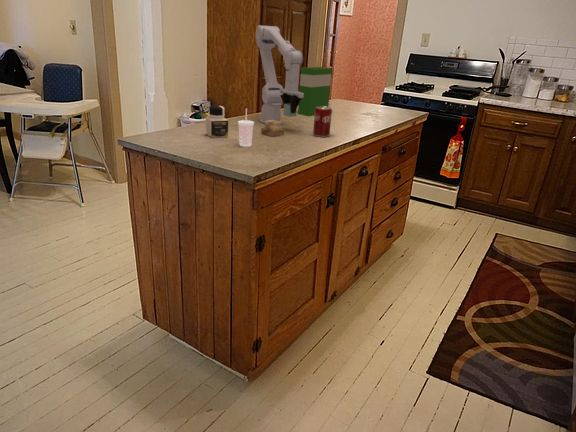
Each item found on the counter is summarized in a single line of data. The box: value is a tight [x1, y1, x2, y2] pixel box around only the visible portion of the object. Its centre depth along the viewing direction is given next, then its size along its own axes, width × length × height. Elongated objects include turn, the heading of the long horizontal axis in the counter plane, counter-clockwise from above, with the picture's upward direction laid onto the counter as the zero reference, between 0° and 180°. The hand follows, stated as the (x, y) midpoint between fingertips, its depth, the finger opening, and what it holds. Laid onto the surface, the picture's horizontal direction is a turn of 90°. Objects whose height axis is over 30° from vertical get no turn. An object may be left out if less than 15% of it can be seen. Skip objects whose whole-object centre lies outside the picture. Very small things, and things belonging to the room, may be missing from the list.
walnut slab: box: [260, 126, 285, 138], centre depth 188 cm, size 7×7×3 cm
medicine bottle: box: [205, 104, 229, 139], centre depth 178 cm, size 7×7×12 cm
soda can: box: [312, 106, 333, 138], centre depth 190 cm, size 7×7×12 cm
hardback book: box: [297, 66, 333, 117], centre depth 237 cm, size 18×7×24 cm, turn 141°
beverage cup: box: [237, 108, 255, 148], centre depth 166 cm, size 6×6×14 cm
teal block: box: [283, 103, 297, 118], centre depth 195 cm, size 4×4×5 cm
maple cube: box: [264, 120, 283, 130], centre depth 187 cm, size 5×5×3 cm
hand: (289, 111), depth 195 cm, fingers closed on teal block, 4 cm apart
